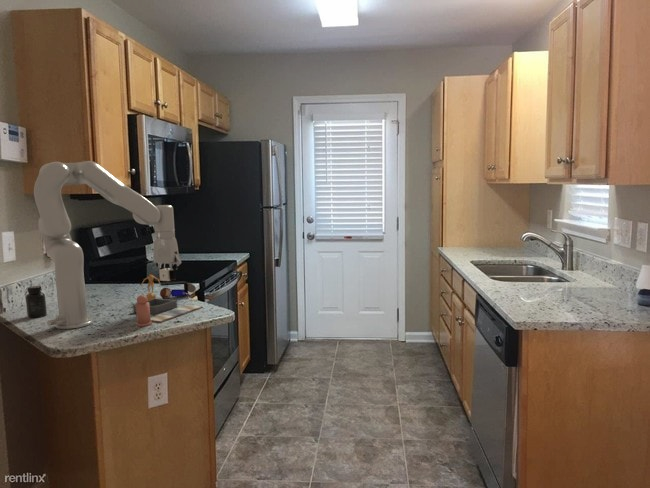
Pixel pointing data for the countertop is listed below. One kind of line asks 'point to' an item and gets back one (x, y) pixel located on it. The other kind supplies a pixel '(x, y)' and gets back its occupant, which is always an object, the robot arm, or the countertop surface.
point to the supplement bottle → (35, 302)
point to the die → (164, 274)
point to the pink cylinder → (143, 311)
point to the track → (174, 313)
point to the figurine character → (167, 292)
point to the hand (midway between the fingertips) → (168, 278)
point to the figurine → (150, 278)
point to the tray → (160, 305)
